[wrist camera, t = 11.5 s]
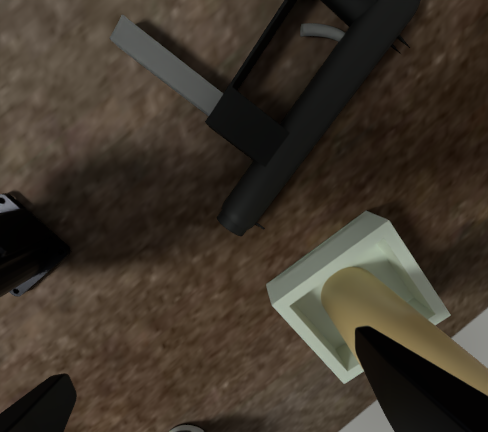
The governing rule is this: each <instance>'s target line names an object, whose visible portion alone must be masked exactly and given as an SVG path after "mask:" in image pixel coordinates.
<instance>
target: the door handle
mask: <svg viewBox="0 0 488 432" xmlns="http://www.w3.org/2000/svg"><path fill="white" fill-rule="evenodd" d="M296 1H297V0H284V2H283V3H282V5H281V6H280V8H279V9H278V11H277V12H276V14H275V16H274V17H273V19H272V20H271V22H270V23H269V25H268V26H267V28H266V29H265V31H264V32H263V34H262V36H261V37H260V39H259V40H258V42H257V43H256V45H255V46H254V48H253V49H252V51H251V52H250V54H249V56H248V57H247V59H246V60H245V62H244V63H243V65H242V66H241V68H240V69H239V71H238V72H237V74H236V76H235V77H234V79H233V80H232V82H231V83H230V85H229V86H228V87H227V89H226V90H225V92H224V94H223V93H222V92H220V91H219V90H218V89H217V88H215V87H214V86H213V85H211V84H210V83H209V82H208V81H206V80H205V79H204V78H203V77H201V76H200V75H199V74H197V73H196V72H195V71H194V70H192V69H191V68H190V67H189V66H187V65H186V64H185V63H183V62H182V61H181V60H180V59H178V58H177V57H176V56H175V55H173V54H172V53H171V52H169V51H168V50H167V49H166V48H164V47H163V46H162V45H161V44H159V43H158V42H157V41H155V40H154V39H153V38H152V37H150V36H149V35H148V34H147V33H145V32H144V31H143V30H141V29H140V28H139V27H138V26H136V25H135V24H134V23H132V22H131V21H130V20H129V19H127V18H126V17H125V16H124V15H122V16H121V18H120V20H119V22H118V24H117V26H116V28H115V29H114V31H113V33H112V35H111V37H110V39H111V40H112V41H113V42H114V43H115V44H116V45H117V46H118V47H119V48H120V49H121V50H123V51H124V52H125V53H127V54H128V55H129V56H131V57H132V58H133V59H134V60H136V61H137V62H138V63H140V64H141V65H142V66H144V67H145V68H146V69H147V70H149V71H150V72H151V73H153V74H154V75H155V76H157V77H158V78H159V79H161V80H162V81H163V82H164V83H166V84H167V85H168V86H170V87H171V88H172V89H174V90H175V91H176V92H177V93H179V94H180V95H181V96H183V97H184V98H185V99H187V100H188V101H189V102H191V103H192V104H193V105H194V106H196V107H197V108H198V109H200V110H201V111H202V112H204V113H205V114H206V115H208V116H209V117H208V118H207V120H206V121H205V122H206V124H207V125H208V126H209V127H210V128H211V129H213V130H214V131H215V132H217V133H218V134H219V135H220V136H222V137H223V138H224V139H226V140H227V141H228V142H230V143H231V144H232V145H234V146H235V147H236V148H238V149H239V150H240V151H242V152H243V153H244V154H246V155H247V156H248V157H250V158H251V159H252V160H254V161H253V163H252V164H251V165H250V167H249V168H248V170H247V171H246V172H245V174H244V175H243V177H242V178H241V179H240V181H239V182H238V184H237V185H236V186H235V188H234V189H233V191H232V192H231V193H230V195H229V196H228V197H227V199H226V200H225V202H224V204H223V206H222V211H221V212H220V213H219V215H218V216H217V220H218V221H219V222H220V223H221V224H222V225H223V226H224V227H225V228H226V229H228V230H229V231H231V232H232V233H234V234H236V235H238V236H243V235H244V233H245V232H246V231H247V230H248V229H250V228H252V227H253V226H254V225H256V224H257V225H258V227H259V226H260V227H261V228H262V229H265V228H264V227H262V226H261V225H259V224H258V223H257V221H258V220H259V219H260V217H261V216H262V215H263V213H264V212H265V211H266V209H267V208H268V207H269V205H270V204H271V203H272V201H273V200H274V199H275V198H276V196H277V195H278V194H279V192H280V191H281V190H282V188H283V187H284V186H285V184H286V183H287V182H288V180H289V179H290V178H291V176H292V175H293V174H294V173H295V171H296V170H297V169H298V167H299V166H300V165H301V163H302V162H303V161H304V159H305V158H306V157H307V155H308V154H309V153H310V151H311V150H312V149H313V148H314V146H315V145H316V144H317V142H318V141H319V140H320V138H321V137H322V136H323V134H324V133H325V132H326V130H327V129H328V128H329V126H330V125H331V124H332V123H333V121H334V120H335V119H336V117H337V116H338V115H339V113H340V112H341V111H342V109H343V108H344V107H345V105H346V104H347V103H348V101H349V100H350V99H351V98H352V96H353V95H354V94H355V92H356V91H357V90H358V88H359V87H360V86H361V84H362V83H363V82H364V80H365V79H366V78H367V76H368V75H369V74H370V73H371V71H372V70H373V69H374V67H375V66H376V65H377V63H378V62H379V61H380V59H381V58H382V57H383V55H384V54H385V53H386V51H387V50H388V49H389V48H390V46H391V47H392V48H393V49H395V50H396V51H398V50H397V49H396V47H395V46H394V45H393V42H394V41H395V40H396V38H397V39H399V40H400V41H401V42H403V43H404V44H405V45H407V43H406V42H405V41H404V40H403V38H402V37H401V36H400V35H399V34H400V33H401V32H402V30H403V29H404V28H405V26H406V25H407V24H408V23H409V21H410V20H411V19H412V17H413V16H414V14H415V13H416V11H417V9H418V6H419V3H420V0H321V1H322V2H323V3H324V4H325V5H326V6H327V7H328V8H329V9H331V10H332V11H333V12H334V13H335V14H336V15H337V16H338V17H339V18H340V19H341V20H343V21H344V22H345V23H346V24H347V25H348V26H349V28H348V30H347V31H346V33H344V32H343V31H341V30H339V29H337V28H335V27H332V26H328V25H323V24H301V29H300V35H301V36H321V37H327V38H331V39H334V40H336V41H338V44H337V45H336V47H335V48H334V49H333V51H332V52H331V54H330V55H329V56H328V58H327V59H326V61H325V62H324V63H323V65H322V66H321V68H320V69H319V70H318V72H317V73H316V75H315V76H314V77H313V79H312V80H311V82H310V83H309V84H308V86H307V87H306V89H305V90H304V91H303V93H302V94H301V96H300V97H299V98H298V100H297V101H296V102H295V104H294V105H293V107H292V108H291V109H290V111H289V112H288V114H287V115H286V116H285V118H284V119H283V121H282V122H281V123H280V124H278V123H277V122H276V121H274V120H273V119H272V118H271V117H269V116H268V115H267V114H266V113H264V112H263V111H262V110H261V109H259V108H258V107H257V106H256V105H254V104H253V103H252V102H251V101H249V100H248V99H247V98H246V97H244V96H243V95H242V94H241V93H239V92H238V89H239V88H240V86H241V84H242V83H243V81H244V80H245V78H246V77H247V75H248V74H249V72H250V71H251V69H252V68H253V66H254V65H255V63H256V62H257V60H258V59H259V57H260V56H261V54H262V53H263V51H264V50H265V48H266V47H267V45H268V44H269V42H270V41H271V39H272V37H273V36H274V34H275V33H276V31H277V30H278V28H279V27H280V25H281V24H282V22H283V21H284V19H285V18H286V16H287V15H288V13H289V12H290V10H291V9H292V7H293V6H294V4H295V3H296ZM407 46H408V45H407ZM408 47H409V46H408ZM409 48H410V47H409ZM398 52H399V51H398ZM399 53H400V52H399ZM400 54H401V53H400ZM257 225H256V226H257Z"/></svg>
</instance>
